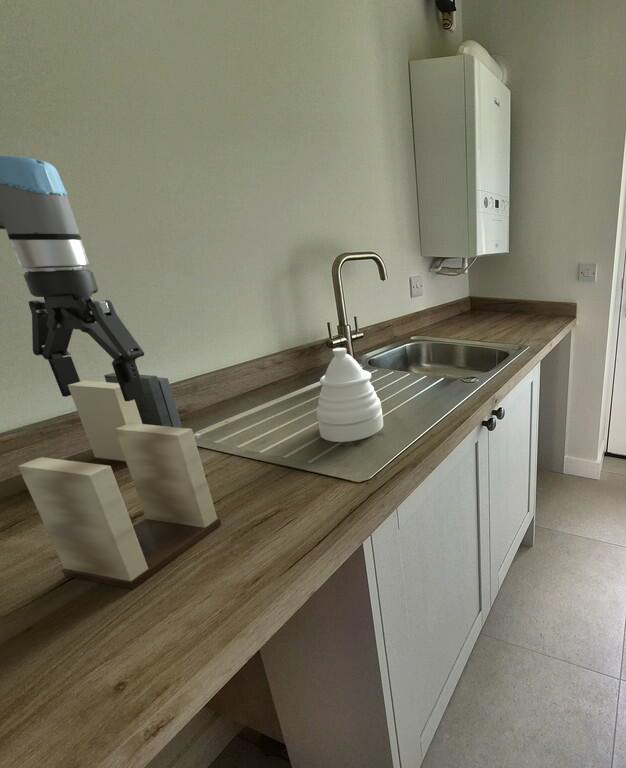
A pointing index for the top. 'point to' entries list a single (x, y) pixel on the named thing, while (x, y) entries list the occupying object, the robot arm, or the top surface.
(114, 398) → the cream book
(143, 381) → the grey book stand
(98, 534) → the cream book stand
